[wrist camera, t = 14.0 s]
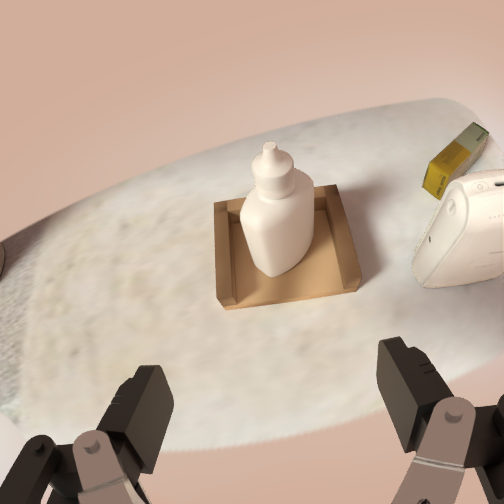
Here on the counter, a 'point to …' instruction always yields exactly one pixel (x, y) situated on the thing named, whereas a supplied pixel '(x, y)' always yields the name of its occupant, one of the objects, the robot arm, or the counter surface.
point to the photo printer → (464, 233)
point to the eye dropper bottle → (278, 212)
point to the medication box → (455, 159)
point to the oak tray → (297, 278)
